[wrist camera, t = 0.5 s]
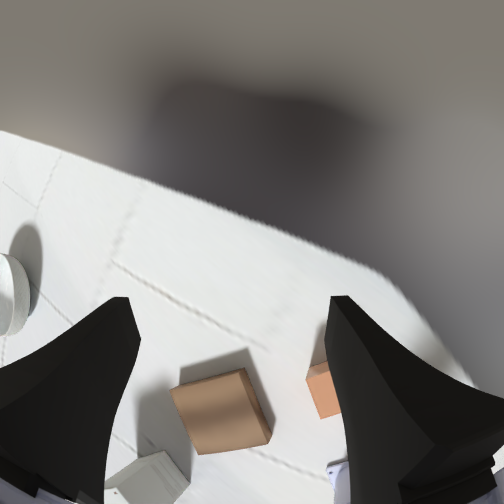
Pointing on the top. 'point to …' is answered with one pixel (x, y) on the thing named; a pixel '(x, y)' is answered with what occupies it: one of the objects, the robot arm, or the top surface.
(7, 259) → the cereal bowl
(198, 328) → the top surface
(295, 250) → the top surface
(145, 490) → the supplement box
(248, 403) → the walnut slab
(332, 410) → the terracotta cube
